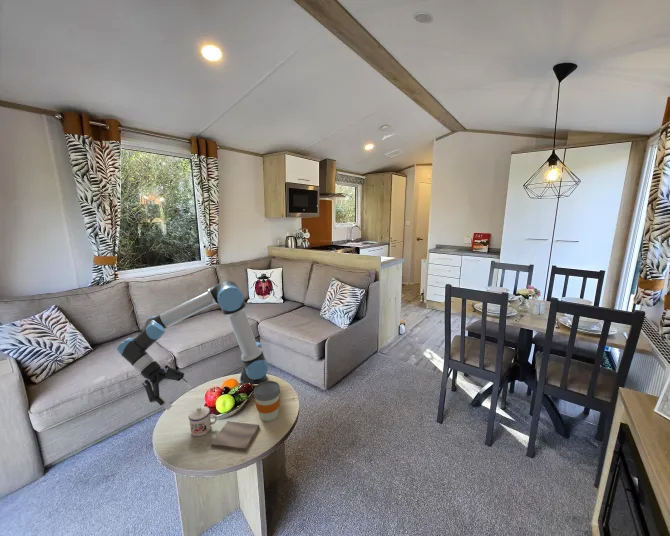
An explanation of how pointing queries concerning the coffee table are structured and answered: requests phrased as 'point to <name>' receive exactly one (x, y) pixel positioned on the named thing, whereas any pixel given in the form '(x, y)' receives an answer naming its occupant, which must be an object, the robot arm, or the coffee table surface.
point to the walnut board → (235, 436)
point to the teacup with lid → (200, 421)
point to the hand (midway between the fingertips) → (180, 398)
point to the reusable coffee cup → (267, 399)
